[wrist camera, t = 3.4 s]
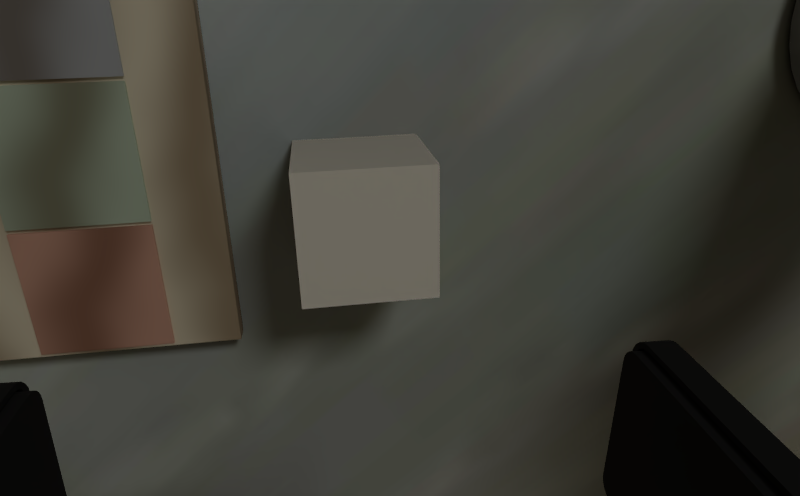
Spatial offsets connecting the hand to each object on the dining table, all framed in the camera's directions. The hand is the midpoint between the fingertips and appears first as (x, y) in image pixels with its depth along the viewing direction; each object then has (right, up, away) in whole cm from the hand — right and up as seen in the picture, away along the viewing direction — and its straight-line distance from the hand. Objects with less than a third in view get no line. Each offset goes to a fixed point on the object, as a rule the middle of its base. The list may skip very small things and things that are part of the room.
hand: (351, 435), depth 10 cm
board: (-14, +7, +18) cm, 24 cm away
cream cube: (-1, +6, +21) cm, 22 cm away
